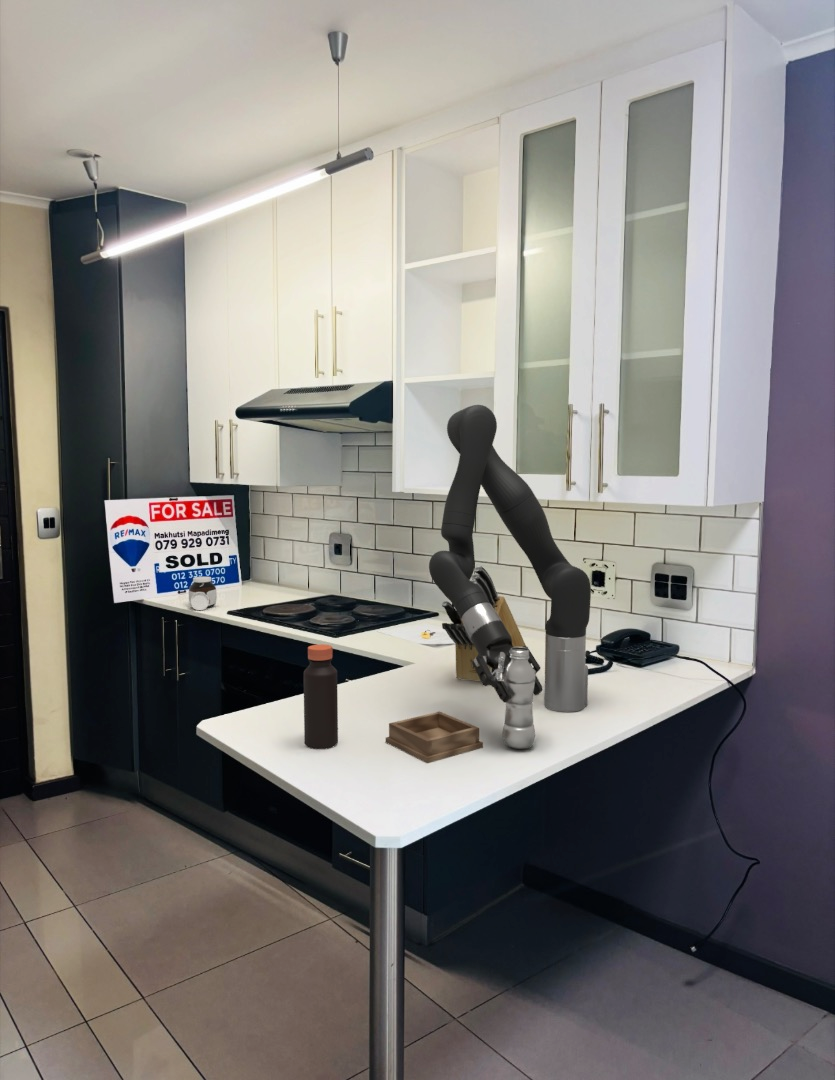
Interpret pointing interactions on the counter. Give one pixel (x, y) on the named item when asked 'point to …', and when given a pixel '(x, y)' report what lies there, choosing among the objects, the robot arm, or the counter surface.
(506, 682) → the silver metal bottle
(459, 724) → the square wooden tray
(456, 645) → the knife block
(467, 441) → the robot arm
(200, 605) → the spread jar
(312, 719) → the vinegar
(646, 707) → the counter surface
